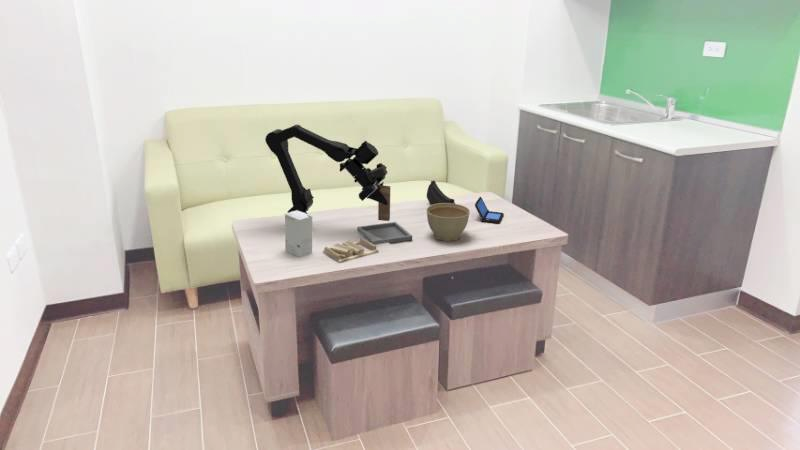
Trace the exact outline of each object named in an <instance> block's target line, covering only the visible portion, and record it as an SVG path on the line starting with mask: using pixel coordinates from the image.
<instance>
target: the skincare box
mask: <svg viewBox="0 0 800 450" xmlns="http://www.w3.org/2000/svg"><path fill="white" fill-rule="evenodd" d="M284 220H285V221H284V222H285V223H284V226H285V227H284V228H285V229H284V234H285V235H284V238H285V239H284V241H285V242H284V243H285V244H284V245H285V249H284V250H285V252H286V253H288V254H291V255H293V256H295V257H297V258H302V257H305V256H308V255H311V254H312V253H313V216H312V215H311V214H309V213H307V214H306V213H304V212H300V211H298V210H296V211H293V212H289V213H288V212H286V213H284Z"/></svg>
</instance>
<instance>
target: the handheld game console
mask: <svg viewBox="0 0 800 450" xmlns="http://www.w3.org/2000/svg"><path fill="white" fill-rule="evenodd" d="M474 207H475V209H476V211H477V212H478V214H479V217H480V220H481V222H482V223H489V224H494V225H495V224H496V225H499V224H501V221H502V219H503V217H504V216H505V215H504V212H499V211H491V210H489V209H488V207H487V206H486V203H485V201H484V200H483V197H482V196H479V197H478V199H477V200H476V202H475V204H474Z"/></svg>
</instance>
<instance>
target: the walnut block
mask: <svg viewBox="0 0 800 450" xmlns="http://www.w3.org/2000/svg"><path fill="white" fill-rule="evenodd" d="M380 192H381V194H382V195H383V196H384V198H385V199H386V201H387V202H388V204H387V205H384V204H382V203H379V202H378V203H377V204H378V208H377V212H378V213H377V214H378V216H377V219H378V220H377V221H382V222H383V221H385V222H386V221H387V222H390V220H391V186H390V185H384V184H383V185H380Z"/></svg>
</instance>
